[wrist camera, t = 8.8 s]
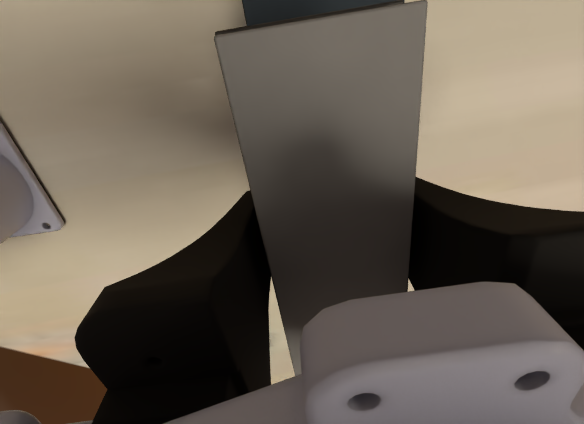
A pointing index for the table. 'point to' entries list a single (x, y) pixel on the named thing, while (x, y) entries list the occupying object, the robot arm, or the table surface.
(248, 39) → the grey rectangular block
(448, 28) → the table surface
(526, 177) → the table surface
